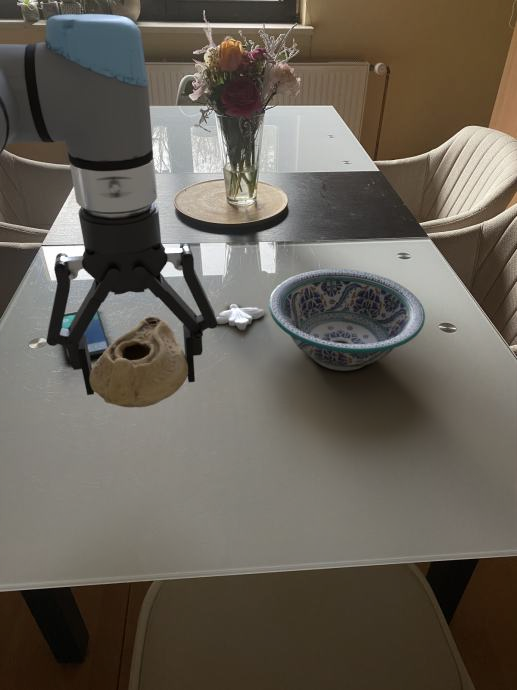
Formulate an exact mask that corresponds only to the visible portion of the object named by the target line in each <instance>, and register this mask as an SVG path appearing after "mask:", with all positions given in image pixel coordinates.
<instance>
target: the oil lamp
mask: <svg viewBox="0 0 517 690" xmlns="http://www.w3.org/2000/svg"><path fill="white" fill-rule="evenodd" d="M187 379H188V364H187V360H186V357H185V351H184V350H183V349H182V347H181V346H180V343H179V342H178V340H177V337H176V335H175V333H174V331H173V330H172V327H170V325H169V324H168V323H167V322H166V321H165V320H164V319H162V318H161V317H158V316H157V317H156V316H152V315H151V316H150V315H149V316H146V317H144V318H142V319H141V320H140V321H139V323H138V325H137V326H136V327H133V328H132V329H130V331H128V332H126V333H125V334H123V335H122V336H120V337H119V338H117V339H116V340H113V342H112V343H111V344H110V345H109V347H108V348H107V349H106V350H105V351H104V353H103V354H102V356H100V357H99V358H98V359H97V360H96V361H95V363H94V364H93V366H92V370H91V372H90V377H89V380H90V385H91V388H92V389H93V391H94V393H96V394H97V395H98V396H99V397H100V398H101V399H103V400H104V402H105V404H110V405H115V406H117V407H118V406H119V407H122V408H123V407H124V408H146V407H150V406H153V405H156V404H158V403H160V402H162V401H164V400H166V399H168V398H170V397H172V395H174V394H175V393H176V392H177V391H179V389H181V388H182V386H183V385H184V384H185V382H186V381H187Z"/></svg>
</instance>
